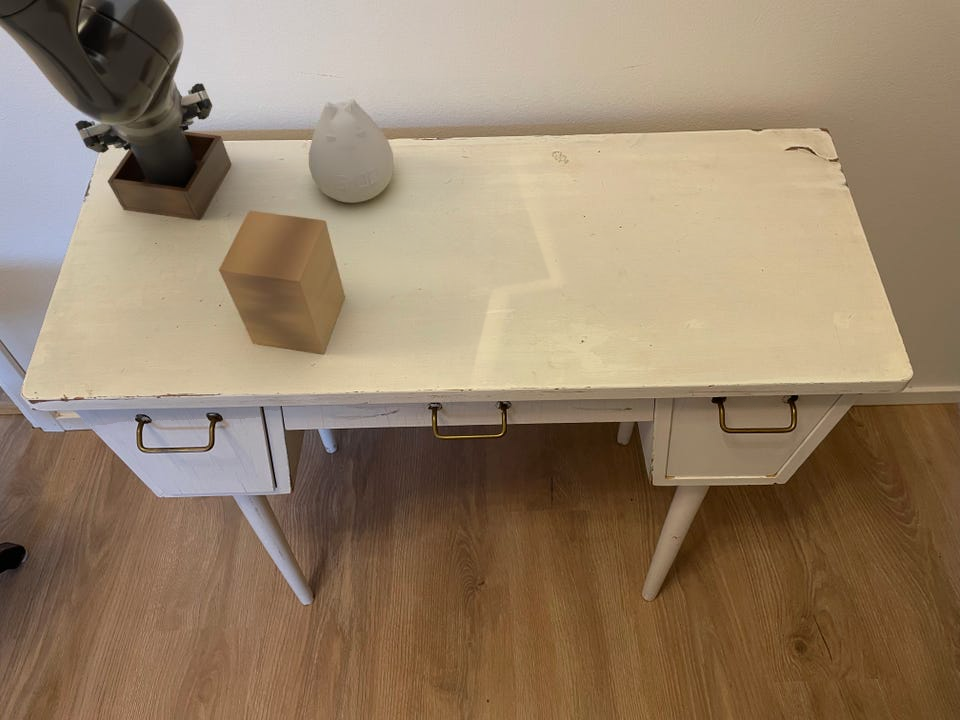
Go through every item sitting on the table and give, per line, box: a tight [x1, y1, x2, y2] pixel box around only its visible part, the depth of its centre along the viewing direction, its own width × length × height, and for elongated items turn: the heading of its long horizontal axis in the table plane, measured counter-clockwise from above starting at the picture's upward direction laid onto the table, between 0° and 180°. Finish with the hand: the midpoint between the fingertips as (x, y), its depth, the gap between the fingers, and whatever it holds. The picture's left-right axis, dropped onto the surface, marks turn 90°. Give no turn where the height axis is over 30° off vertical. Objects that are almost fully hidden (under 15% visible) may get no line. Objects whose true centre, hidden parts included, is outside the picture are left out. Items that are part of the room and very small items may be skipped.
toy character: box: [308, 98, 395, 204], centre depth 87 cm, size 10×10×12 cm
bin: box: [107, 130, 232, 221], centre depth 90 cm, size 10×10×5 cm
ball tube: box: [130, 128, 198, 188], centre depth 87 cm, size 6×6×10 cm
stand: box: [218, 210, 346, 355], centre depth 75 cm, size 8×8×12 cm
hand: (153, 131), depth 87 cm, fingers closed on ball tube, 6 cm apart
